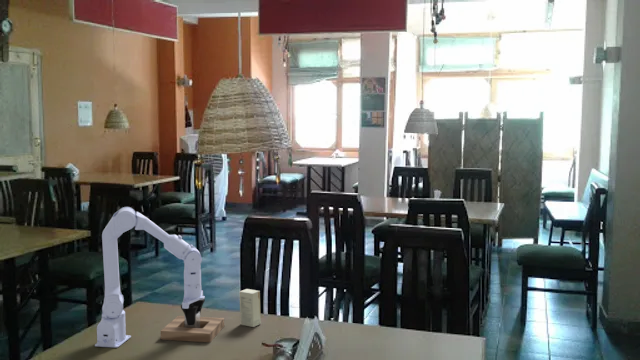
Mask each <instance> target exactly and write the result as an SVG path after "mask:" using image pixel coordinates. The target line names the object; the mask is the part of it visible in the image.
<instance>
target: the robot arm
mask: <svg viewBox="0 0 640 360" xmlns="http://www.w3.org/2000/svg"><path fill="white" fill-rule="evenodd" d="M133 228H134V230H136V231H145V232H146V233H148V234H150V236H152V237H154V238H155V239H157V240H159V241H160V242H162V243H163V249H165V250H166V251H167V252H169V253H171V254H172V255H174V257H176V258H177V259H179V260H182V261H183V264H184V266H183V267H184V269H183V292H184V294H183V299H182V300H183V301H182V302H181V304H180V309H181V310H182V312H183V314H185V317H186V321H187V324H188V325H194V323H195V316H196V311H200V314H201V312H202V308H203V306H204V303H205V299H206V297H205V295H204V290H202V269H201V268H202V267H201V265H202V262H203V258H202V255H201V253H200V251H199V250H198V249H197V247H196V246H194V245H193V244H192V243H191V244H190V243H188V242H187V241H185V240H184V239H182V238H183V236H182V235H180V234H178V235H177V234H175V233H174V234H169V233H168V232H166V231H165V230H163V229H162V227H160V226H159V225H157V224H156V223H155V222H154V221H152V220H150V218H148V217H147V216H146V215H143V214H142V213H141V212H139V211H136V210H135V209H134V208H132V207H130V206H124V207H123V206H122V207H121V208H120V209H118V210H117V211H116V212H114V213H113V215H112V216H111V218H110V220H109V221H108V223H107V224H106V225H105V228H104V229H103V230H102V232H101V233H102V234H101V240H102V241H101V242H102V256H103V257H102V258H103V260H102V261H103V274H104V275H103V276H104V277H103V278H104V298H103V304H102V307H101V311H102V312H101V320H100V322H99V323H97V326H96V339H97V340H96V341H97V342H96V343H95V344H94V347H101V348H119V347H120V346H122V345H123V344H124V343H125V342H126V341H128V340H129V339H131V338H132V335H128V334H126V333H127V330H126V329H127V327H126V311H125V310H124V301H125V299H124V298H125V297H124V295H123V294H122V292H121V284H120V267H119V249H118V248H119V247H118V238H120V237H121V236H122V235H123V233H125V232H127V231H129V230H132V229H133Z"/></svg>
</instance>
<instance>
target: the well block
mask: <svg viewBox="0 0 640 360" xmlns="http://www.w3.org/2000/svg"><path fill="white" fill-rule="evenodd" d="M224 327H225V317H212V316H211V317H210V316H200V328H185V317H184V315H177V316H176V317H175V318H174V319H172V320H171V321H170V322H169V323H168V324H166V325H165V326H163V328H162V329H161V330H160V340H163V341H175V342H176V341H178V342H193V343H194V342H195V343H196V342H197V343H212V341H213V340H214V339H215V337H216V336H217V335H219V334H220V332H221V331H222V330H223V329H224Z"/></svg>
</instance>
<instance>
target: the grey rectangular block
mask: <svg viewBox="0 0 640 360" xmlns="http://www.w3.org/2000/svg"><path fill="white" fill-rule="evenodd" d="M183 314H184V313H183ZM183 316H184V317H185V314H184V315H183ZM200 317H201V313H200V311H196V316H195V323H194V325H188V324H187V321H186V317H185V328H200Z"/></svg>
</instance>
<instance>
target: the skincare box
mask: <svg viewBox="0 0 640 360" xmlns="http://www.w3.org/2000/svg"><path fill="white" fill-rule="evenodd" d="M260 292H261V291H260V290H256V289H252V288H251V289H250V288H245V289H243V290H240V291H239V314H240V315H239V318H240V319H239V320H240V325H241V326H247V327H252V328H255V327H256V326H259V325H261V324H262V319H261V318H262V317H261V315H262V314H261V293H260Z"/></svg>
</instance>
